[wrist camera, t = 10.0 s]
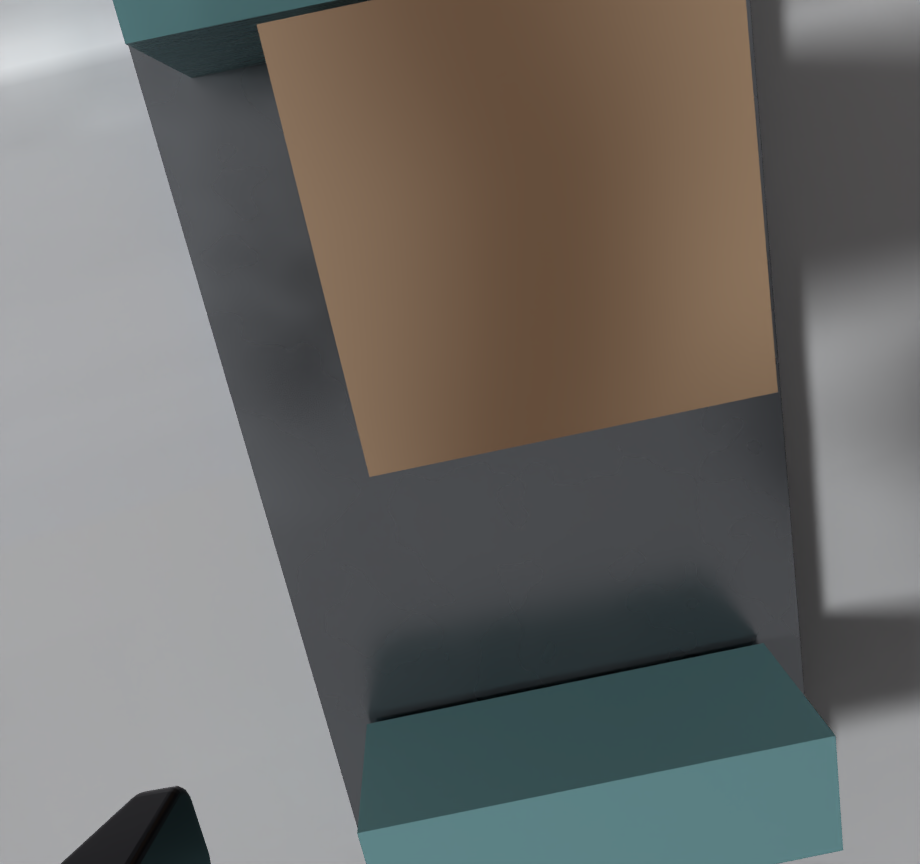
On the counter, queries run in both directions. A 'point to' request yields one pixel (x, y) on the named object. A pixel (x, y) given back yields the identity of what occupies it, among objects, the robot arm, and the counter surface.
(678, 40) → the walnut block
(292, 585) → the vise
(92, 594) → the counter surface
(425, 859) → the vise jaw
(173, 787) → the robot arm
